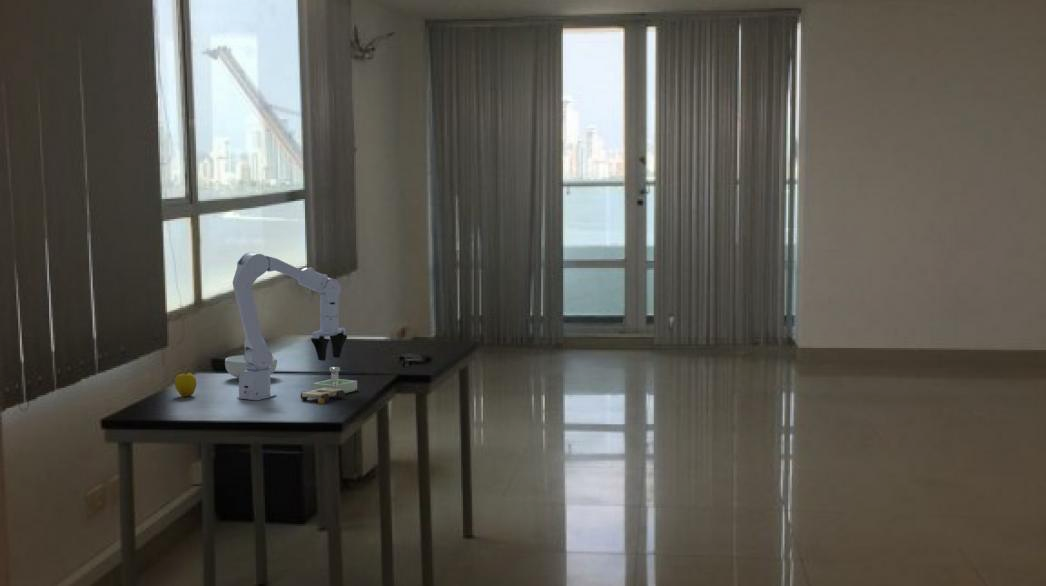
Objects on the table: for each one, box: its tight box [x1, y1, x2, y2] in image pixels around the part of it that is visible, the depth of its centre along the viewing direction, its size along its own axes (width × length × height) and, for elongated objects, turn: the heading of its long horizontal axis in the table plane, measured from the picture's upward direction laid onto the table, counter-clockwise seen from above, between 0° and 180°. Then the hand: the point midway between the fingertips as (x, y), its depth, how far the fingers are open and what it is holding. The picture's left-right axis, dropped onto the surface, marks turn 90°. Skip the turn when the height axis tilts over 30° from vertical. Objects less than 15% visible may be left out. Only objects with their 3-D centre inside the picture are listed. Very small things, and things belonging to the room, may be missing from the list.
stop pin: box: [329, 366, 341, 385], centre depth 371 cm, size 3×3×7 cm
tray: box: [312, 378, 358, 394], centre depth 371 cm, size 11×9×3 cm
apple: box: [174, 370, 197, 398], centre depth 360 cm, size 6×6×8 cm
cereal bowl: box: [224, 354, 278, 379], centre depth 394 cm, size 17×17×7 cm
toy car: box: [300, 388, 346, 405], centre depth 357 cm, size 12×9×3 cm
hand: (329, 358), depth 371 cm, fingers open, 7 cm apart
